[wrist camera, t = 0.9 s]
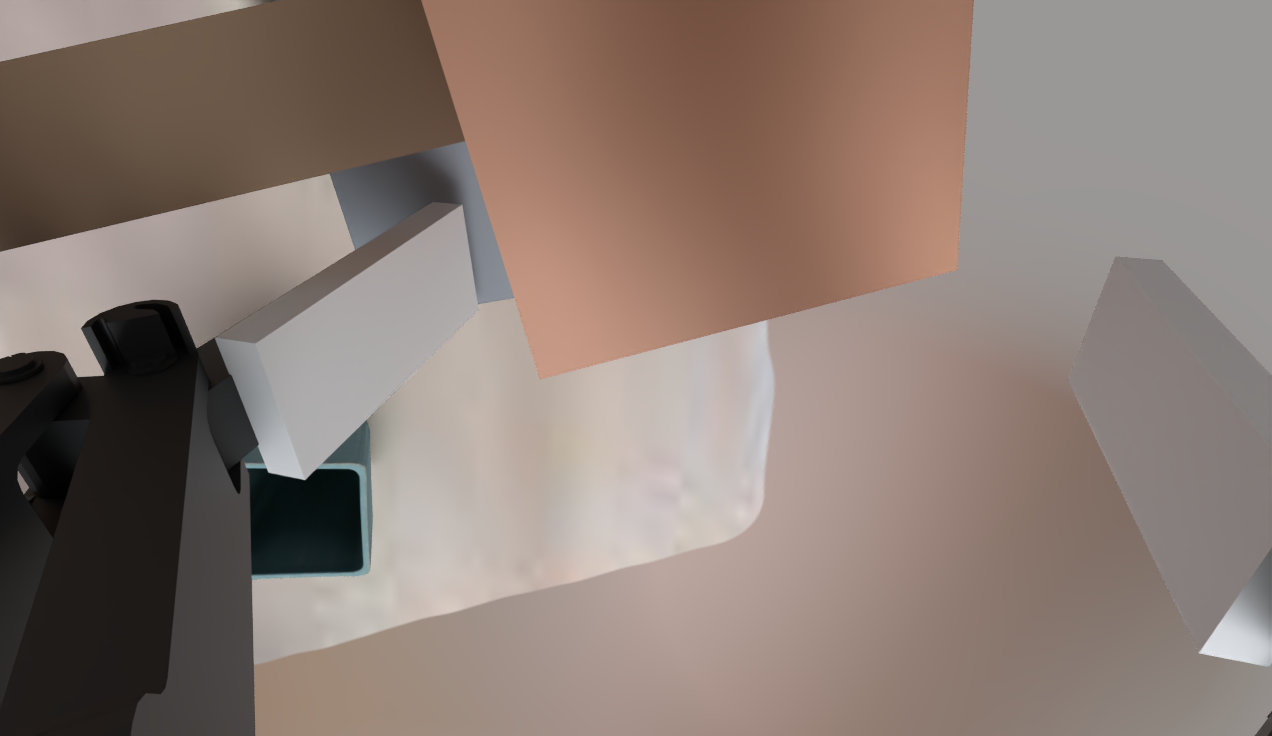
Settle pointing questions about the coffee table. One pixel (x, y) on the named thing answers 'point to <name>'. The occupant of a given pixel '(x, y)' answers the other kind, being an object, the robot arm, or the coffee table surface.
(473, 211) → the plinth
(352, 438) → the flower pot
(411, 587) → the coffee table surface
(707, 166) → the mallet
